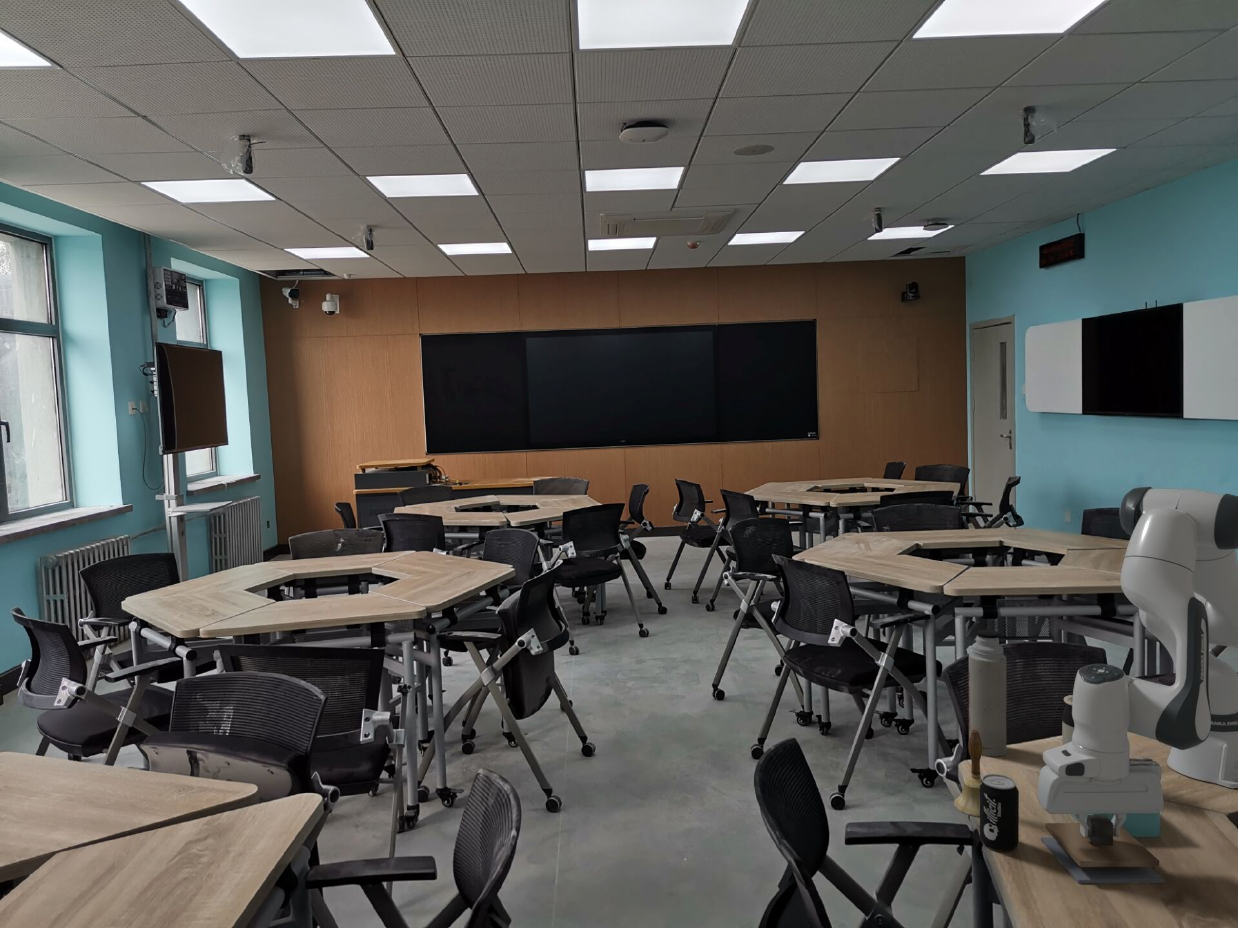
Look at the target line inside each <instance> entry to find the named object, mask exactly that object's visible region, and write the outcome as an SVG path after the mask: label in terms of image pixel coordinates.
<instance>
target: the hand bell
mask: <svg viewBox="0 0 1238 928" xmlns="http://www.w3.org/2000/svg"><path fill="white" fill-rule="evenodd" d="M967 746H968V753H969V756H970V759H971V765H970V767H971V770H970V771H971V776H970V777H967V778H965V779H964V781H963V786H962V791H961V794H960V795H959V796H958V797H956V799H955V800H954V802H953V807H954V808H955V809H956V810H957V811H959V812H960V813H962V814H964V815H965V816H969V817H974V818H980V784H981V782H982V777H981V759H982V758H981V757H982V756H983V755H982V741H981V738H980V736H979V732H978V731H977V730H972V731H971V735H970V738H969V737H968V743H967Z"/></svg>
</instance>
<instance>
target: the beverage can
mask: <svg viewBox="0 0 1238 928" xmlns="http://www.w3.org/2000/svg"><path fill="white" fill-rule="evenodd" d="M981 779H982V782H981V784H980V817H979V839H980V841H981V842H982V843H983V844H984V845H985V846H986V847H987V848H989V849H991V850H994V851H999V852H1010V851H1013V850H1014V849H1016V848H1017V847H1019V843H1020V842H1019V839H1020V834H1019V831H1020V829H1019V828H1020V826H1019V825H1020V824H1019V823H1020V822H1019V821H1020V820H1019V819H1020V816H1019V813H1020V811H1019V810H1020V808H1019V807H1020V806H1019V805H1020V803H1019V801H1020V800H1019V798H1020V796H1019V795H1020V792H1019V789H1018V787H1017V781H1016V780H1015V779H1013V778H1012V777H1009V776H1006V775H1003V774H997V773H996V774H995V773H991V774H990V773H989V774H986V775H983V776H982V777H981Z"/></svg>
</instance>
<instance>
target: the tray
mask: <svg viewBox="0 0 1238 928" xmlns="http://www.w3.org/2000/svg"><path fill="white" fill-rule="evenodd" d="M1040 841H1041V842H1042V844H1043V845H1044V846H1045V847H1046V848H1047V849H1048V851H1049V852H1050V853H1051V854H1052V855H1053V857H1054V858H1055V859H1056V860H1057V861H1058V862H1059V863H1060V864H1061V865H1062V866H1063V867H1064V869H1065V870H1066V871H1067V872H1068V873H1069V875H1070V876H1071V877H1072V878H1073V879H1074V880H1075V882H1077V883H1078V884H1136V883H1135V882H1138V883H1137V884H1160V883H1161V884H1162V883H1164V878H1163V877H1162V876H1161V875H1159V873H1157V872H1156V870H1154V869H1153V868H1152V867H1080V866H1079V865H1078V864H1077V863H1076V862H1075V861H1074V859H1073V858H1072V857H1071V856H1070V855H1069V854H1068V853H1067V852H1066V851H1065V850H1064V849H1063V847H1062V846H1061V845H1060V844H1059V843H1058V842H1057V841H1056V840H1055V839H1054V838H1053V837H1051V836H1049V837H1048V836H1043V837H1040ZM1141 882H1142V883H1141Z"/></svg>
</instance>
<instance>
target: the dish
mask: <svg viewBox="0 0 1238 928" xmlns="http://www.w3.org/2000/svg"><path fill="white" fill-rule="evenodd" d="M1160 814H1161V811H1160V812H1159V813H1127V815H1126V820H1125V822H1124V823H1123V824H1122V827H1123V828H1124V829H1125V830H1126V831H1127V832H1128V833H1129V834H1130V835H1131V836H1133V837H1134V838H1159V837H1160V835H1161V832H1160V829H1161V828H1160V827H1161V823H1160V822H1161V820H1160V819H1161V815H1160ZM1069 815H1070V816H1071V817H1072V818H1073V819H1074V820H1075V821H1076V823H1079V822H1078V820H1077V818H1076V817H1075V815H1074V814H1069ZM1087 815H1105V816H1106V817H1107V818H1108V819H1109V820H1110V821H1111V820H1112V819H1113V817H1114V814H1087ZM1084 820H1085V822H1086V823H1087V819H1084Z"/></svg>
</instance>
